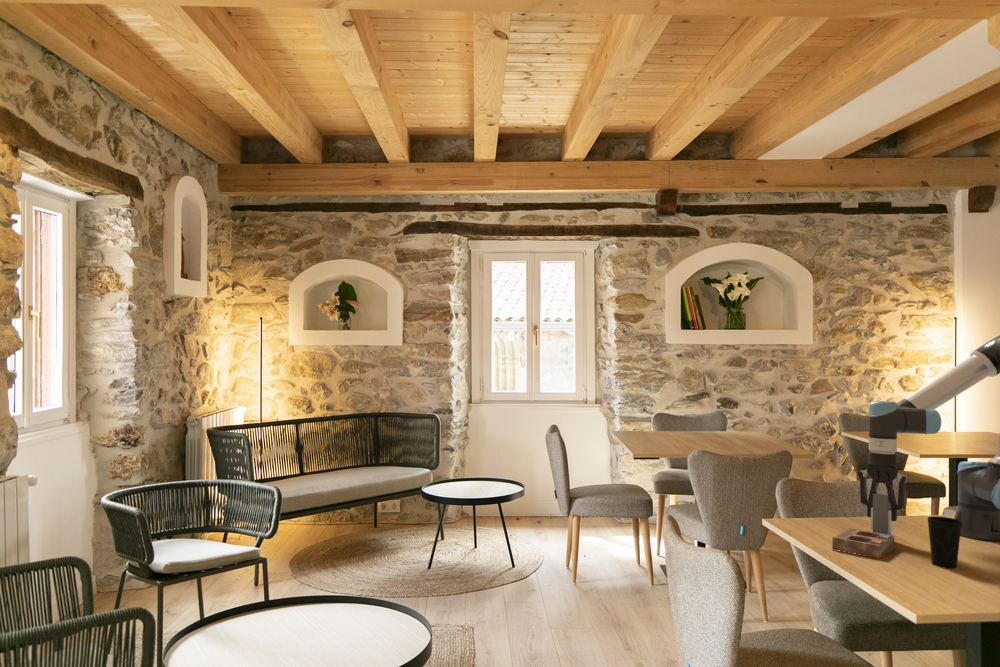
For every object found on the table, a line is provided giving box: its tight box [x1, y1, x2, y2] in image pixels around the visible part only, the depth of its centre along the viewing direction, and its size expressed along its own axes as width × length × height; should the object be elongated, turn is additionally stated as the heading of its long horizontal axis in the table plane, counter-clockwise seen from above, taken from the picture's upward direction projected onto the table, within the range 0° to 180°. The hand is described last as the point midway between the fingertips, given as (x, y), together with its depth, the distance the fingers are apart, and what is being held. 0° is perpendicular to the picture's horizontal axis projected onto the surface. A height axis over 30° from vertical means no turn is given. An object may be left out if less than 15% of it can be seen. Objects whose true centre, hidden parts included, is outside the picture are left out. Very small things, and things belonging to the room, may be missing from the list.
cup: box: [927, 516, 962, 569], centre depth 187 cm, size 8×8×12 cm
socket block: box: [831, 527, 895, 559], centre depth 201 cm, size 12×16×4 cm
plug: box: [872, 491, 892, 535], centre depth 211 cm, size 4×4×14 cm
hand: (881, 529), depth 211 cm, fingers closed on plug, 4 cm apart
